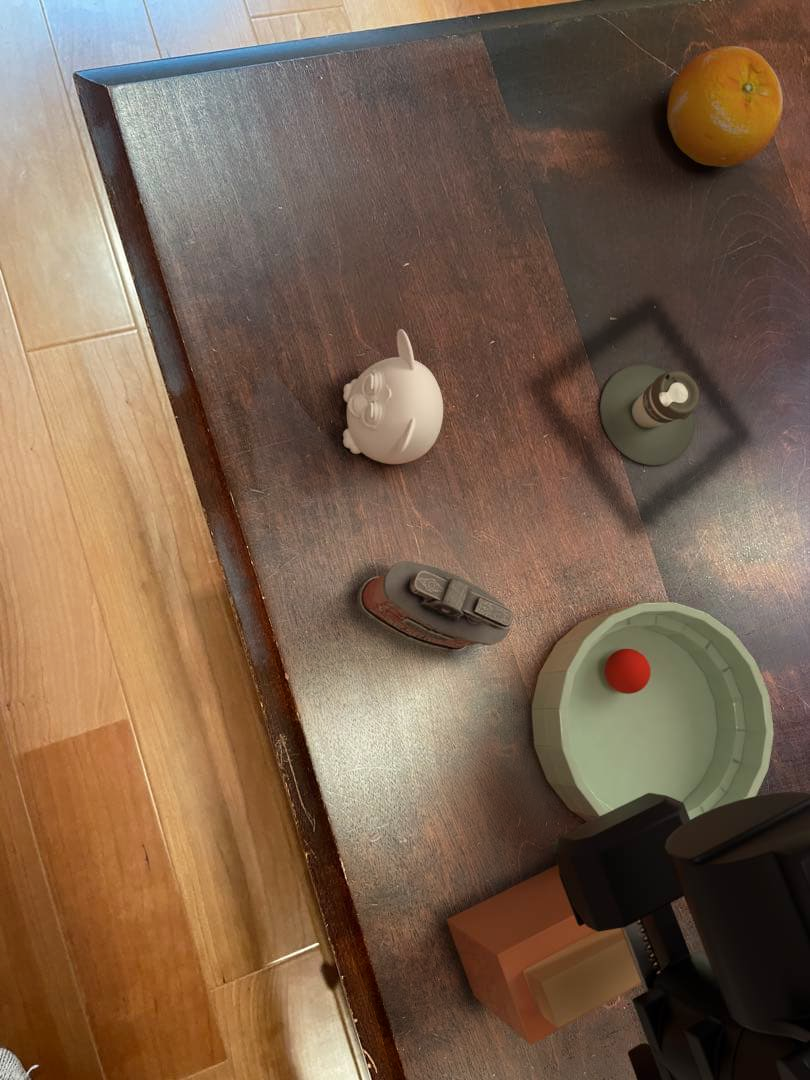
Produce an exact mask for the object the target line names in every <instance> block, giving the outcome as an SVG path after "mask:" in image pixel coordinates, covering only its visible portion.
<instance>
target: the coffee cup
mask: <svg viewBox="0 0 810 1080" xmlns="http://www.w3.org/2000/svg"><path fill="white" fill-rule="evenodd" d="M699 390H700V389H699V386H698V385H697V383H696V381H695V379H693V377H691V375H689V374H687V373H686V372H684V371H681V370H671V371H666V370H664V369H662V368H660V367H658V366H654V365H650V364H642V363H641V364H631V365H628V366H626V367H623V368H621V369H620V370H618V371H616V372H615V373H614V374H613V375H612V376H611V377H610V379H608V381H607V383H606V384H605V386H604V388H603V391H602V393H601V397H600V405H599V408H600V409H599V412H600V413H599V414H600V421H601V424H602V427H603V428H604V432H605V434H606V436H607V437H608V439H609V441H610V442H611V444H612V445H613V446H614V447H615V449H616V450H617V451H618V452H620V454H621V455H623V456H625V458H627V459H629V460H631V461H633V462H634V463H637V464H641V465H644V466H645V465H646V466H663V465H666V464H670V463H671V462H673V461H675V460H677V459H679V457H680V456H682V455H684V453H685V452H686V451H687V449H688V448H689V446H690V445H691V442H692V440H693V437H694V434H695V428H696V416H695V409H696V408H697V406H698V404H699V401H700V391H699Z"/></svg>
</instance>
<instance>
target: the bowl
mask: <svg viewBox="0 0 810 1080" xmlns="http://www.w3.org/2000/svg"><path fill="white" fill-rule="evenodd" d="M621 649H633V650H636V651H638V652H640V653H641V654H642V655H644V656H645V658H646V659H647V661H648V663H649V665H650V670H651V674H650V679H649V681H648V683H647V685H646V686H645V687H644V688H643V689H642V690H640V691H638V692H636V693H632V694H625V693H621V692H618V691H616V690H615V689H613V688H612V687H611V686H610V685H609V683H608V682H607V679H606V677H605V664H606V662H607V660H608V658H609V657H610V656H611V655H612V654H613V653H614V652H616V651H618V650H621ZM533 695H534V696H533V699H532V702H531V703H532V704H531V721H532V722H531V723H532V732H533V733H532V734H533V745H534V746H533V747H534V750H535V752H536V755H537V758H538V761H539V762H540V765H541V769H542V771H543V773H544V777H545V778H546V781H547V782H548V784H549V785H550V786H551V787H552V789H553V790H554V791H555V793H556V795H557V796H559V798H560V799H561V801H563V803H564V804H565V806H566V807H567V808H568V809H569V811H571V812H572V813H574V814H575V815H577V817H579V818H581V819H583V820H584V821H585V822H586V823H587V822H589V821H591V820H593V819H595V818H597V817H599V816H602V815H604V814H606V813H608V812H610V811H612V810H614V809H616V808H618V807H620V806H622V805H624V804H626V803H628V802H630V801H633V800H635V799H637V798H639V797H641V796H643V795H645V794H647V793H654V794H660V795H666V796H669V797H671V798H674V799H676V800H678V801H681V802H683V803H684V805H685V808H686V811H687V813H688V816H689V818H690V820H691V819H693V818H694V817H696V816H698V815H700V814H703V813H705V812H707V811H710V810H712V809H715V808H717V807H719V806H722V805H726V804H729V803H732V802H735V801H738V800H742V799H746V798H750V797H754V796H757V795H758V793H759V790H760V789H761V786H762V784H763V781H764V780H765V777H766V775H767V773H768V771H769V768H770V760H771V754H772V748H773V742H774V736H775V733H774V732H775V731H774V723H773V715H772V706H771V698H770V694H769V692H768V689H767V686H766V684H765V681H764V678H763V677H762V674H761V672H760V669H759V666H758V664H757V662H756V660H755V659H754V657H753V656H752V655H751V653H750V652H749V650H747V648H746V647H745V645H744V644H743V643H742V641H741V640H740V639H739V638H738V636H737V635H736V634H735V633H734V631H732V630H730V629H729V628H728V627H727V626H725V625H724V624H722V622H720V621H718V620H717V619H715V618H714V617H713V616H711V615H710V614H709V613H707V612H706V611H702V610H700V609H697V608H693V607H691V606H687V605H684V604H681V603H678V602H673V601H667V602H665V601H662V602H661V601H660V602H641V603H635V604H631V605H627V606H622V607H617V608H613V609H609V610H606V611H603V612H601V613H598V614H596V615H594V616H591V617H588V618H586V619H584V620H581V621H580V622H578V623H577V624H576V625H575V626H573V628H572V629H570V631H568V632H567V633H566V634H565V635H564V636H563V637H562V638H560V639H559V640H558V641H557V642H556V643H555V645H554V646H553V648H552V650H551V651H550V654H549V655H548V657H547V658H546V661H545V662H544V664H543V665H542V667H541V670H540V671H539V673H538V677H537V681H536V684H535V689H534V694H533Z"/></svg>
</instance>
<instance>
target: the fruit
mask: <svg viewBox="0 0 810 1080" xmlns="http://www.w3.org/2000/svg"><path fill="white" fill-rule="evenodd" d="M783 97H784V96H783V90H782V85H781V83H780V80H779V78H778V76H777V74H776V72H775V71H774V69H773V68H772V66H770V64H769V62H768V61H767V60H766V59H765V58H764V57H763V56H762V55H761V54H760V53H758V52H757V51H755V50H753V49H751V48H749V47H745V46H738V45H727V46H719V47H716V48H712V49H711V50H708V51H704V52H703V53H701V54H699V55H697V56H696V57H694V58H693V59H691V60H690V61H689V62H688V63H687V64H686V65H685V66H684V67H683V68H682V69H681V70H680V72H679V73H678V74H677V76H676V77H675V80H674V82H673V84H672V86H671V89H670V93H669V96H668V101H667V109H666V111H667V114H666V118H667V126H668V129H669V131H670V134H671V136H672V138H673V140H674V143H675V145H676V147H678V149H679V150H681V152H682V153H683V154H684V155H686V156H687V157H688V158H690V159H692V160H693V161H694V162H695V163H698V164H700V165H703V166H709V167H717V168H718V167H720V168H729V167H733V166H737V165H740V164H742V163H744V162H747V161H749V160H750V159H752V158H754V157H756V156H757V155H759V154H760V153H761V152H762V151H763V150H764V149H765V148H766V147H767V146H768V144H769V143H770V141H772V138H773V137H774V135H775V133H776V131H777V129H778V127H779V124H780V121H781V120H782V116H783V109H784V108H783V107H784V99H783Z"/></svg>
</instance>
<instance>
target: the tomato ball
mask: <svg viewBox="0 0 810 1080" xmlns="http://www.w3.org/2000/svg"><path fill="white" fill-rule="evenodd" d="M650 674H651V670H650V665H649V663H648V661H647V659H646V658H645V656H644V655H642V654H641V653H640V652H638V651H636V650H633V649H621V650H618V651H616V652H614V653H613V654H612V655H611V656H610V657H609V658H608V660H607V662H606V664H605V677H606V679H607V682H608V683H609V685H610V686H611V687H612V688H613V689H615V690H616V691H618V692H621V693H625V694H632V693H636V692H638V691H640V690H642V689H643V688H644V687H645V686H646V685H647V683H648V681H649V679H650Z"/></svg>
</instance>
